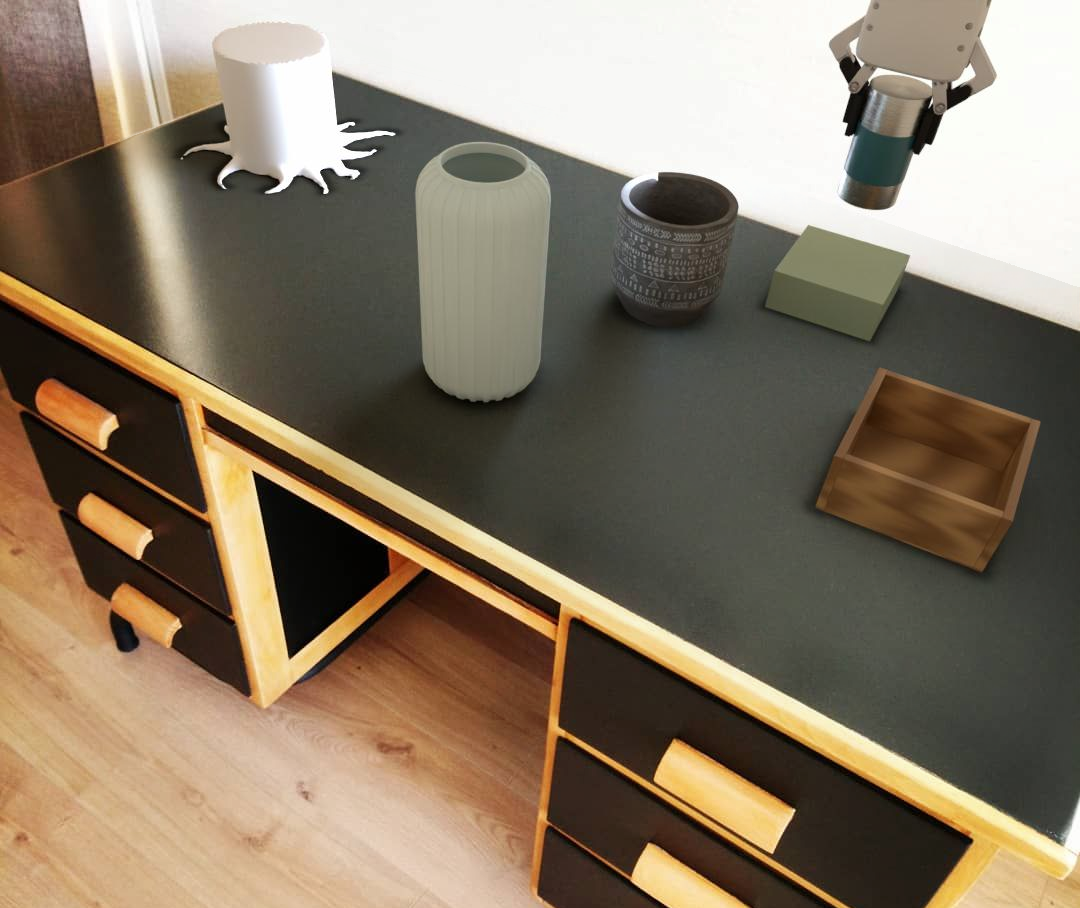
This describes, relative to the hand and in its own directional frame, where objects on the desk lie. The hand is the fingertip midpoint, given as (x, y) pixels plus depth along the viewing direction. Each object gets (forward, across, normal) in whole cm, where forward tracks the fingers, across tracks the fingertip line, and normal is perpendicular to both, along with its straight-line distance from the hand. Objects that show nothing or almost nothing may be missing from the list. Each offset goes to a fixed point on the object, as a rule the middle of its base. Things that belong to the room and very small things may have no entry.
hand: (885, 138), depth 93 cm
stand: (+19, 0, 0) cm, 19 cm away
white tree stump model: (+19, +74, +5) cm, 77 cm away
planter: (+19, +16, +12) cm, 28 cm away
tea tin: (+6, 0, 0) cm, 6 cm away
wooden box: (+19, -16, +27) cm, 36 cm away
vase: (+19, +26, +34) cm, 47 cm away
